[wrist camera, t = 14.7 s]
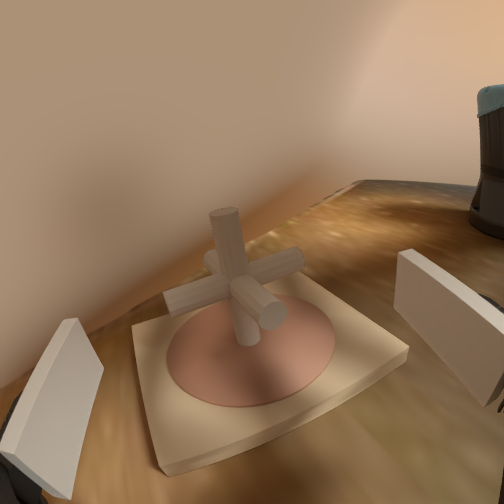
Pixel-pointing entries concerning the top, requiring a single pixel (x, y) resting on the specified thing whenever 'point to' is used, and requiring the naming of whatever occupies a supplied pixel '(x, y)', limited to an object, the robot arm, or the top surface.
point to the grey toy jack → (237, 281)
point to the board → (253, 373)
